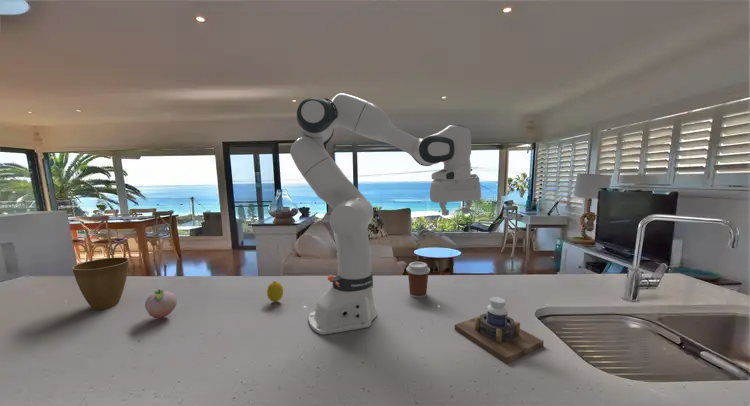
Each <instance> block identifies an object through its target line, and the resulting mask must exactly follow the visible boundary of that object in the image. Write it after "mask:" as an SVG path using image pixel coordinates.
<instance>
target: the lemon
mask: <svg viewBox="0 0 750 406" xmlns="http://www.w3.org/2000/svg"><path fill="white" fill-rule="evenodd" d="M266 294H267V298H268V300H269V301H271V302H273V303H277V302H278V301H280V299H282V297H283V295H284V289H283V286H282V284H281V283H280V282H279V281H272V282H271V283H270V284H269V285H268V287H267V290H266Z"/></svg>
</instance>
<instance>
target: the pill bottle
mask: <svg viewBox="0 0 750 406" xmlns="http://www.w3.org/2000/svg"><path fill="white" fill-rule="evenodd" d="M486 313H487V323H489V324H490V325H492V326H498V327H507V316H508V308H507V307H506V300H505V299H504V298H502V297H498V296H492V297H490V298H489V304H488V305H487V306H486ZM486 330H487V331H488V332H490V333H492V334H495V335H496V332H491V331H489V330H488V329H486ZM505 335H506V334H505V333H502V336H505Z"/></svg>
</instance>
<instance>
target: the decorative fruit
mask: <svg viewBox="0 0 750 406" xmlns="http://www.w3.org/2000/svg"><path fill="white" fill-rule="evenodd" d="M177 304H178V301H177V297H176V296H175V294H174V293H173V292H171V291H166V290H162V289H158V290H156V291H154V293H152V294H150V295H149V296H148V297H147V298H146V300H145V302H144V307H145V310H146V312H147V313H148V315H149V316H150V317H152V318H153V319H159V320H162V319H164V318H166V317H167V316H169V315H170V314H172V312H173V311H174V310H175V309H176V306H177Z"/></svg>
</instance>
